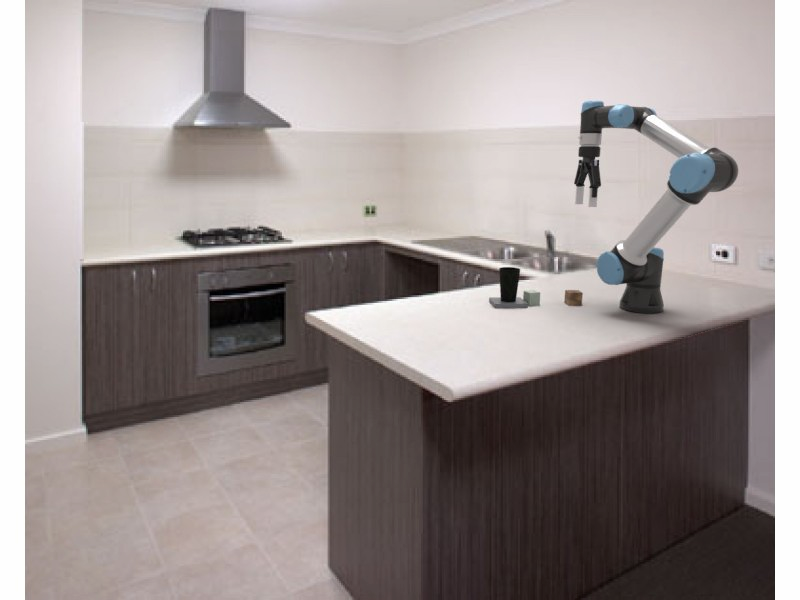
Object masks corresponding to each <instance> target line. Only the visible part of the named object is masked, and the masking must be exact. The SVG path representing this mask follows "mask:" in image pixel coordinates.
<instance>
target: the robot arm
mask: <svg viewBox="0 0 800 600" xmlns="http://www.w3.org/2000/svg"><path fill="white" fill-rule="evenodd" d="M579 129H580V130H579V136H578V138H577V139H579V141H578V143H579V145H580V146H579V147H578V157H579V158H582V159H578V166H577V170H576V174H575V178H574V182H573V184H574V185H575V190H576V191H575V203H574V205H583V204H584V194H585V193H584V192H585V182H586V178H587V177H588V181H589V183H590V184H589V187H588V188H589V193H588V204H587V205H588V208H597V206H598V205H597V204H598V202H597V201H598V191H599V188H601V186H602V180H601V179H602V178H601V173H600V159H596V158H599V157H600V156H601V149H602V148H601V145H602V134H603V129H627V130H629V129H630V130H635V131H637V132H638V133H640V134H641V135H642V136H645V137H646V138H648V139H649V140H651V141H652V142H654V143H655V144H657V146H660V147H662V148H663V149H664V150H666V151H668V152H669V153H670V154H672V155H674V156H675V157H676V158H678V159H677V160H675V162H674V163H672V166H671V167H670V170H669V174H670V175H669V177H668V180H667V182H666V187H667V190H666V191H665V192H664V193H663V194H662V196H661V197H660V198H659V199H658V201H656V203H654V205H653V207H652V208H650V210H649V211H648V213H646V215H645V216H644V218H643V219H642V220H641V221H640V222H639V223H638V225H637V226H636V227H635V228H634V229H633V230H632V232H631V233H630V234H629V235H628V236H627V238H626V239H624V240H620V241H618V242H617V243H616V244H615V246H614V247H612V249H611V250H610V251H604V252H602V253H601V254H600V255H598V258H597V259H596V272H597V275H598V276H599V278H600V280H601V281H602V282H603V283H604V284H607V285H608V286H613V285H614V286H619V285H624V284H626V285H625V289H624V291H623V293H622V296H621V298H620V300H619V306H618V307H619V308H620V309H621V310H624V311H628V312H632V313H640V314H657V313H658V314H659V313H662V312H663V311H664V310H665V309H664V306H665V303H664V299H663V295H662V290H661V288H662V287H661V286H662V285H661V284H662V278H663V277H662V276H663V268H664V267H663V265H664V260H665V258H664V254H665V252H664V250H663V249H662V248H660V247H655V246H656V245H657V244H658V243H660V241H661V240H662V239H663V237H664V236H665V235H666V234H667V233H668V232H669V231H670V229H671V228H673V226H674V225H675V224H676V222H678V220H679V219H680V218H681V217H682V216H683V214H684V213H685V212H686V211H687V210H688V209H689V208H690V207H691V206H696V205H700V203H701V202H702V201H703V200H704V199H705V197H706V196H707V195H708V194H709V193H718V192H723V191H725V190H727V189H729V188H730V187H732V186H733V184H734V183H735V182H736V180H737V178H738V174H739V166H738V164H737V161H736V160H735V159H734V157H732V156H731V155H729V154H728V153H726V152H724V151H723V150H721V149H719V148H717V147H715V146H714V147H709V146H707V145H706V144H704V143H703V142H701V141H699V140H698V139H696V138H694V137H693V136H691V135H689V134H687V133H686V132H684V131H683V130H681V129H679V128H678V127H677V126H674V125H673V124H671V123H669V122H668V121H666V120H664V119H663V118H661V117H660V116H658V115H657V112H656V111H655V109H653V108H651V107H647V106H631V105H629V104H615V105H606V106H605V103H604V101H602V100H587V101H586V100H585V101H584V102H582V105H581V112H580V128H579Z"/></svg>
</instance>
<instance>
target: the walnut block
mask: <svg viewBox="0 0 800 600" xmlns="http://www.w3.org/2000/svg"><path fill="white" fill-rule="evenodd" d="M563 303H564V304H565V305H567V306H569V307H571V306H573V307H577V306H578V307H579V306H580V307H581V306H583V292H582V291H580V290H579V289H565V290H564V302H563Z"/></svg>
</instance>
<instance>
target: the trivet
mask: <svg viewBox="0 0 800 600" xmlns="http://www.w3.org/2000/svg"><path fill="white" fill-rule="evenodd" d="M488 298H489V299H488V302H489V303H490V304H491V305H492V306H493V308H494V309H528V307H529V306H528V303H527V302H525V301H524V300H523V297H521V296H518V297H517V296H516V301H515V302H503V301H501V296H499V297H495V296H494V297H491V296H490V297H488Z"/></svg>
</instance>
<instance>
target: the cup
mask: <svg viewBox="0 0 800 600" xmlns="http://www.w3.org/2000/svg"><path fill="white" fill-rule="evenodd" d="M520 276H521V268H519V267H514V266H503V267H499V291H500V297H501V301H503V302H515V301H516V297H517V295H518V289H519V288H518V287H519V282H520Z"/></svg>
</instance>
